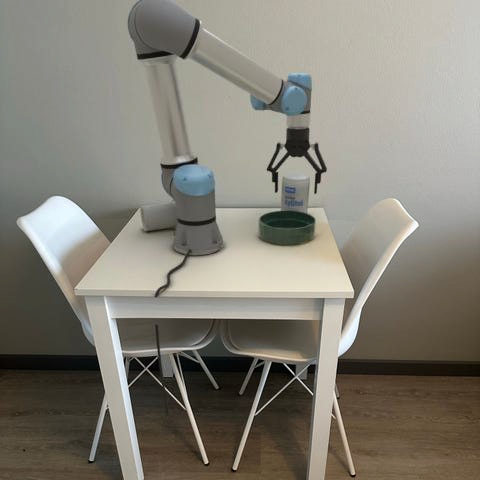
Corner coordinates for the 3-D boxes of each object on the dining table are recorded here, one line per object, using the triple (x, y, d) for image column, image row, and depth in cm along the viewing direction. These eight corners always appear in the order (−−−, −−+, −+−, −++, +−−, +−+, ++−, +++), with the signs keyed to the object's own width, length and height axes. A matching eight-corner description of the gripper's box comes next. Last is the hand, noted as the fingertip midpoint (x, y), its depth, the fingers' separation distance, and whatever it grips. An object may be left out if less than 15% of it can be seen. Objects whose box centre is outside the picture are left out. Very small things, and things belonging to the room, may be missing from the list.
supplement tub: (282, 222, 163) (284, 179, 155) (278, 213, 171) (279, 172, 163) (310, 221, 163) (312, 178, 156) (304, 212, 172) (307, 171, 164)
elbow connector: (189, 232, 152) (202, 213, 169) (180, 201, 147) (194, 184, 164) (140, 241, 156) (157, 221, 173) (129, 211, 151) (148, 194, 168)
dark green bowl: (322, 243, 145) (323, 226, 143) (265, 248, 143) (265, 231, 140) (304, 224, 161) (305, 208, 158) (253, 228, 158) (253, 212, 155)
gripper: (337, 125, 153) (332, 190, 164) (261, 125, 157) (262, 188, 168) (336, 129, 146) (331, 196, 157) (258, 128, 151) (258, 194, 162)
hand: (295, 192), depth 163 cm, fingers open, 13 cm apart
